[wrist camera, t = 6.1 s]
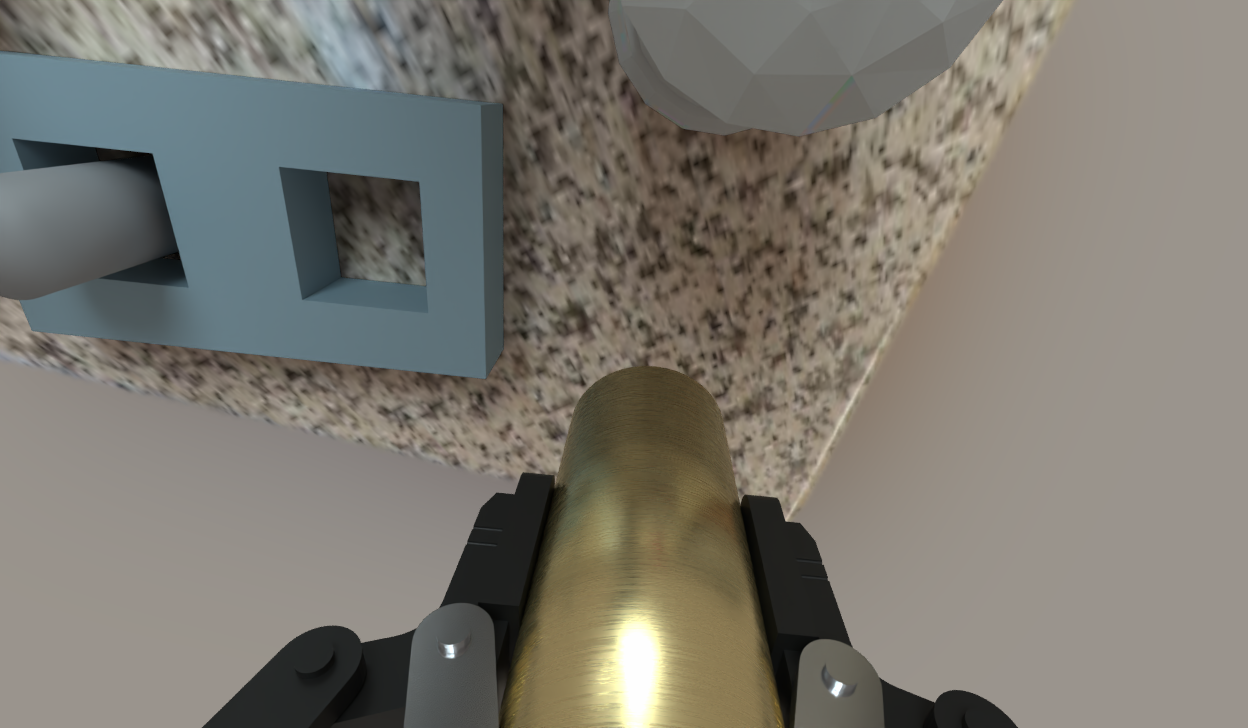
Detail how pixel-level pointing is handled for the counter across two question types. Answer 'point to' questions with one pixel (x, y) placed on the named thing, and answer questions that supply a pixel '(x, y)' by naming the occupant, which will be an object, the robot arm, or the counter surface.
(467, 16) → the counter surface
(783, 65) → the french press
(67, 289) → the jig
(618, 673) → the gold cylinder
